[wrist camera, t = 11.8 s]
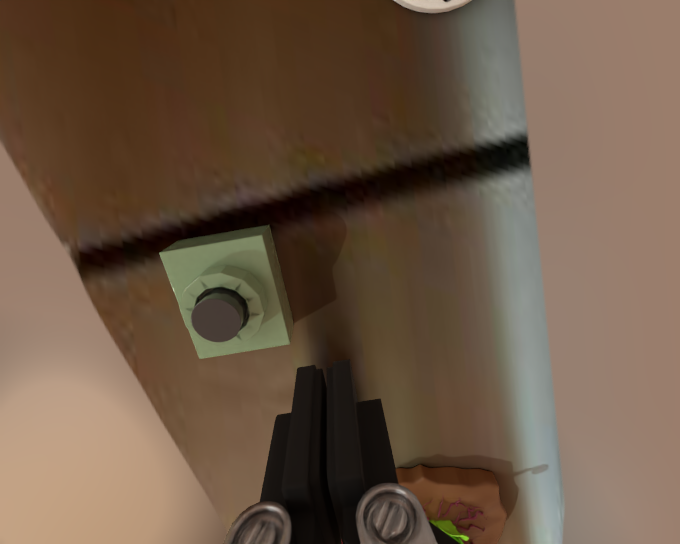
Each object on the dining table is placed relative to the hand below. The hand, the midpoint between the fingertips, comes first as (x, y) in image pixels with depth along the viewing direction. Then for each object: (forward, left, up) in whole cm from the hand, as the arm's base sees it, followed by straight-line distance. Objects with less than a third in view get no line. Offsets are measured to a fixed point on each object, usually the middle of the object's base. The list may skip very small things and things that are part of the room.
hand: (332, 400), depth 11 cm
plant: (+43, +7, -23) cm, 49 cm away
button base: (+4, -10, -23) cm, 25 cm away
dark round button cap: (+4, -10, -18) cm, 21 cm away
